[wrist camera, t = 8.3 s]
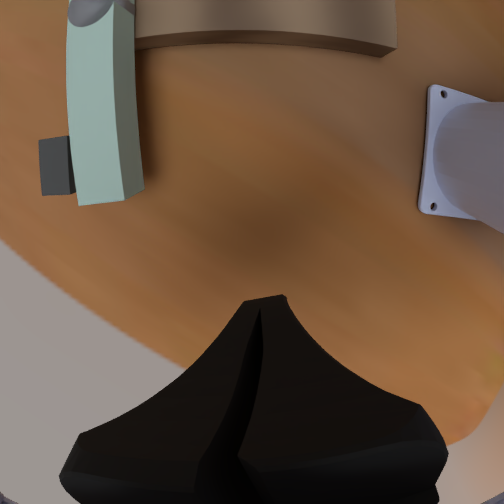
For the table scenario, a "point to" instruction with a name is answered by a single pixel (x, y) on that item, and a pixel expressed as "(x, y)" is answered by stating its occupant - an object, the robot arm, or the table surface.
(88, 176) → the folding leg
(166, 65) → the table surface
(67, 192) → the block
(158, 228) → the table surface
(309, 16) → the stool seat
